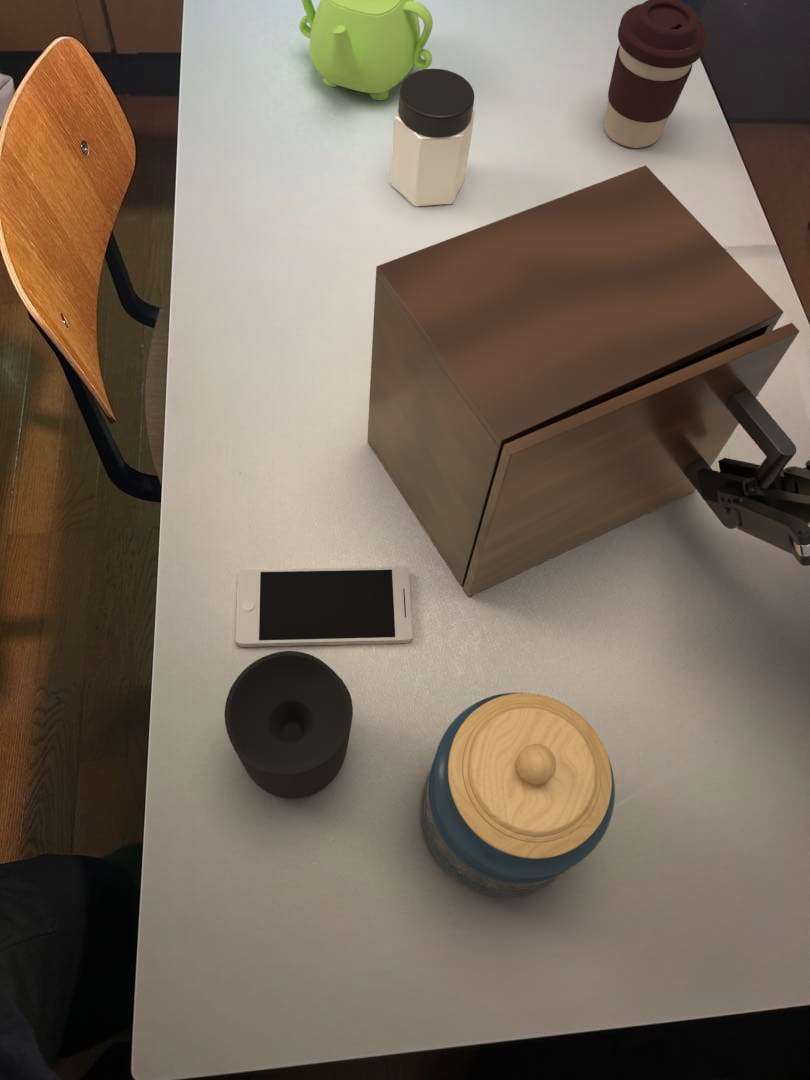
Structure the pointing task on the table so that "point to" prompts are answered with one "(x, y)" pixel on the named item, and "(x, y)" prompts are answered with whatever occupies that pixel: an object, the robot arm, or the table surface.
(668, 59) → the coffee cup
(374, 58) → the teapot
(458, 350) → the cupboard
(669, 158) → the table surface
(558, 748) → the canister
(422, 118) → the jar
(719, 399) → the cupboard door
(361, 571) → the smartphone
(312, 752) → the pen holder
